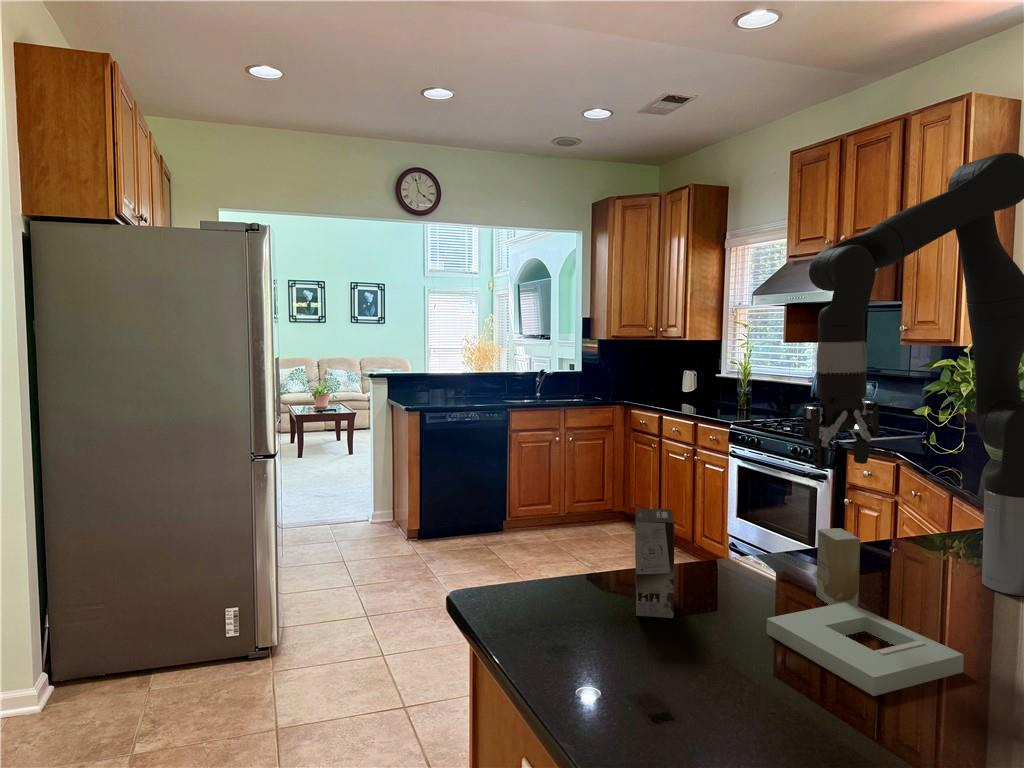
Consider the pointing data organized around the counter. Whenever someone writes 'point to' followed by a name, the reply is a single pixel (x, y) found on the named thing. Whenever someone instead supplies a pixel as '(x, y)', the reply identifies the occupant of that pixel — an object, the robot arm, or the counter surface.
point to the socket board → (864, 648)
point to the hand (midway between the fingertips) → (841, 465)
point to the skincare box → (838, 566)
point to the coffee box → (654, 562)
